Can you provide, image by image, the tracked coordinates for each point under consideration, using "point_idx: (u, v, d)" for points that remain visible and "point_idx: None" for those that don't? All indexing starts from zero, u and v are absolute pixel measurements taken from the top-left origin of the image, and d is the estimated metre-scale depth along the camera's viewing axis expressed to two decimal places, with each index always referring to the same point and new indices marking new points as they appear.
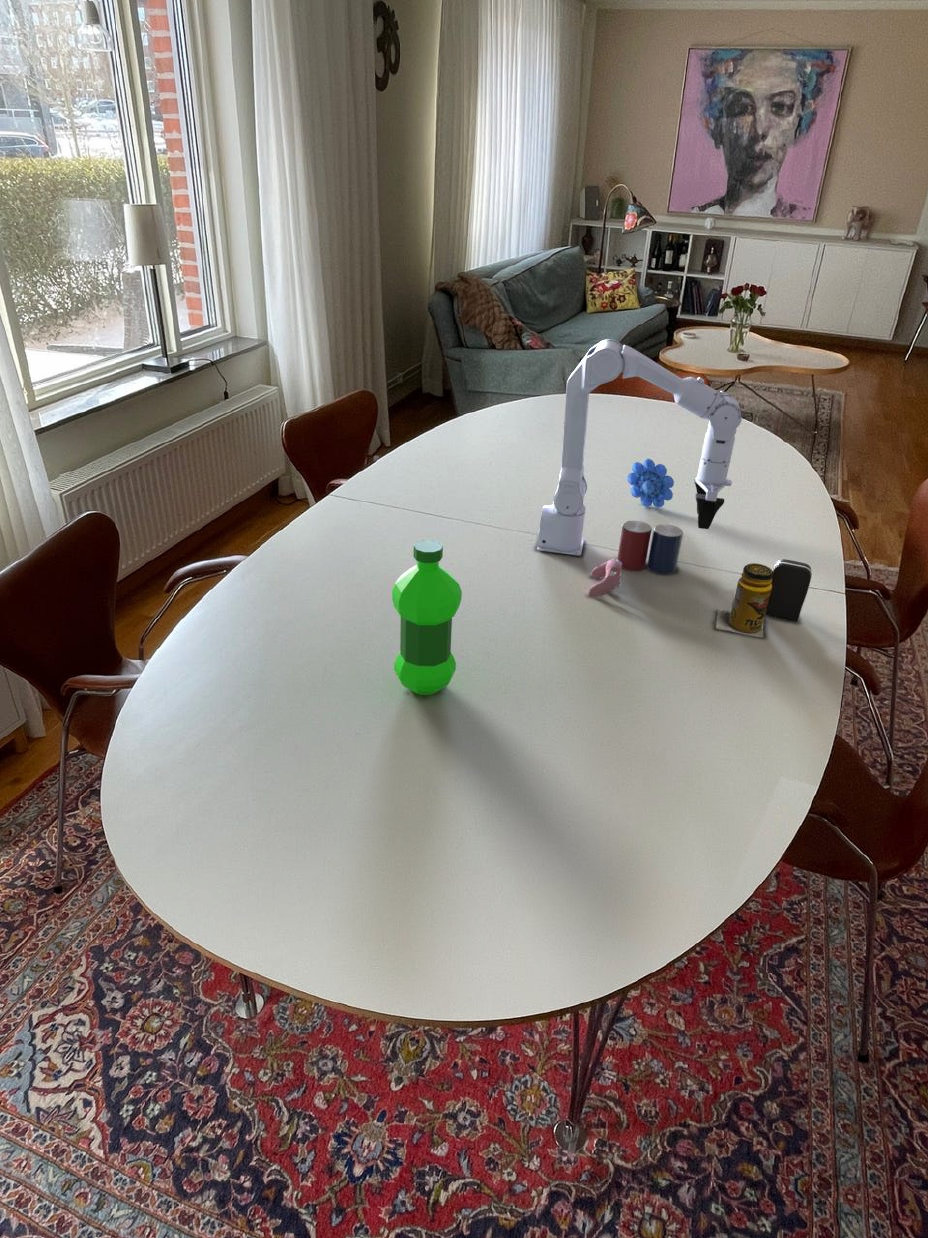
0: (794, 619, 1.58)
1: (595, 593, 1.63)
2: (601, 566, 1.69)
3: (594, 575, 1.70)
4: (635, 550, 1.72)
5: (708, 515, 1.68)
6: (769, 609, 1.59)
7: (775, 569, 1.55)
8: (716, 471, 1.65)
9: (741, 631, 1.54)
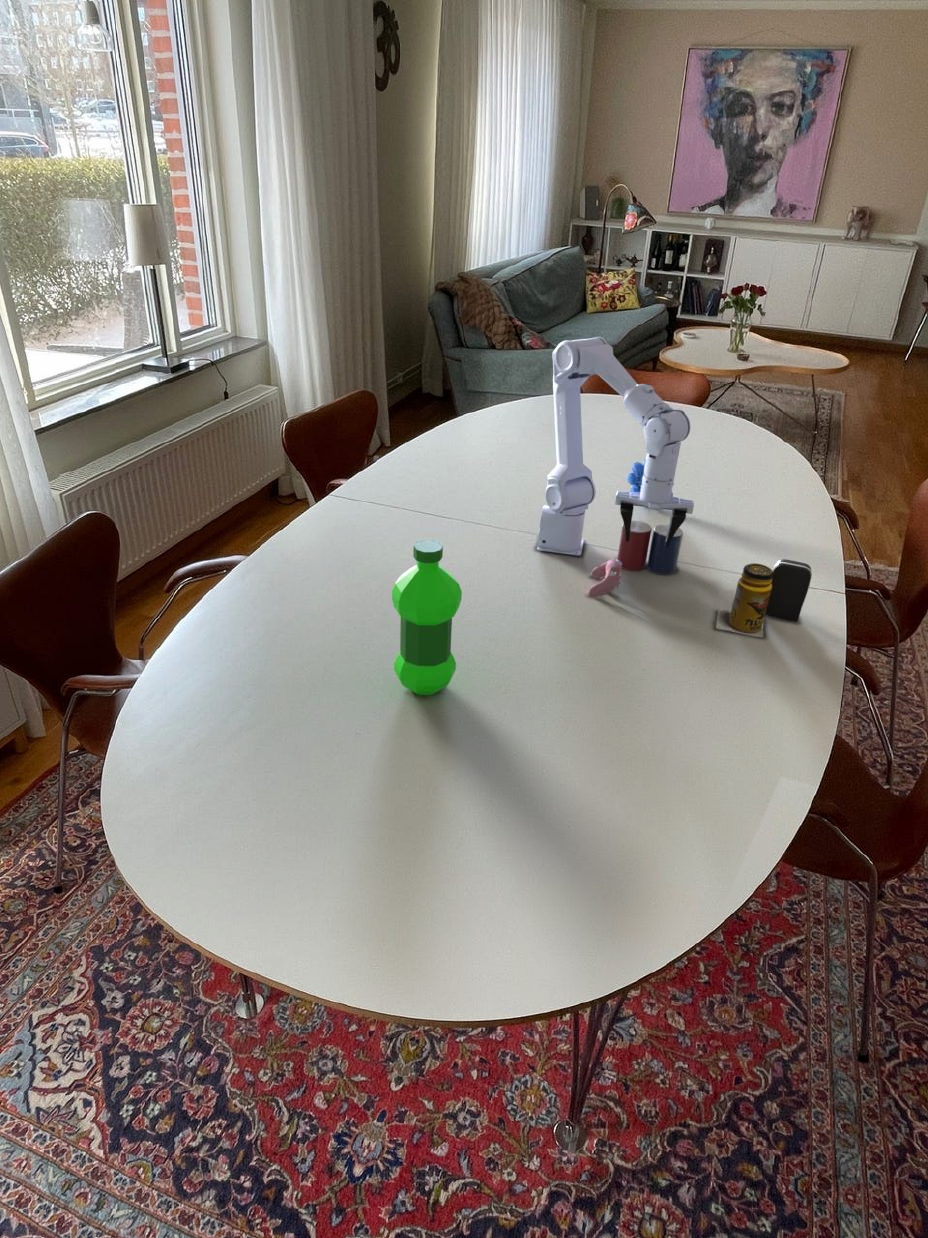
0: (794, 619, 1.58)
1: (595, 593, 1.63)
2: (601, 566, 1.69)
3: (594, 575, 1.70)
4: (635, 550, 1.72)
5: None
6: (769, 609, 1.59)
7: (775, 569, 1.55)
8: (642, 483, 1.57)
9: (741, 631, 1.54)
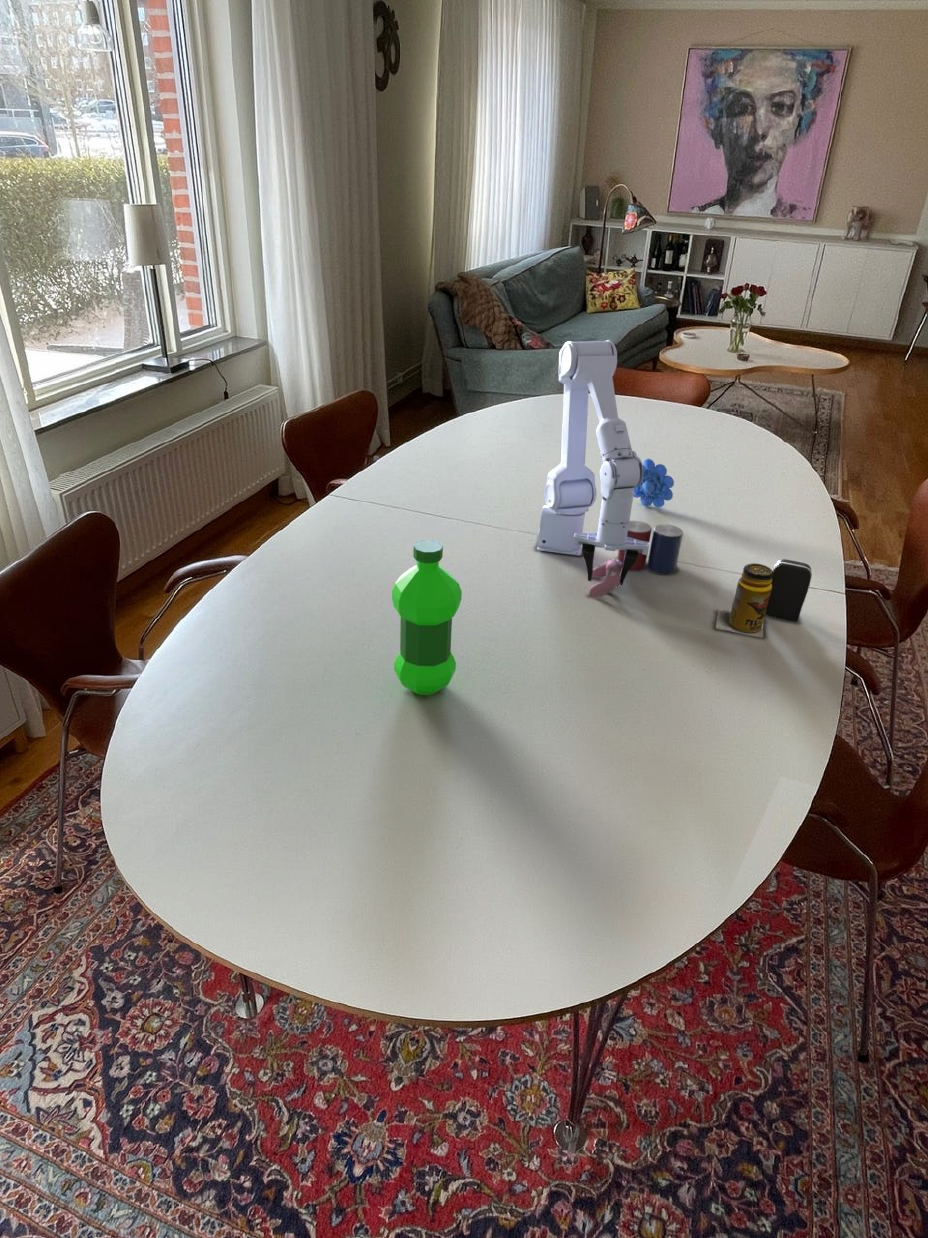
0: (794, 619, 1.58)
1: (595, 593, 1.63)
2: (601, 566, 1.69)
3: (594, 575, 1.70)
4: None
5: None
6: (769, 609, 1.59)
7: (775, 569, 1.55)
8: (598, 525, 1.61)
9: (741, 631, 1.54)
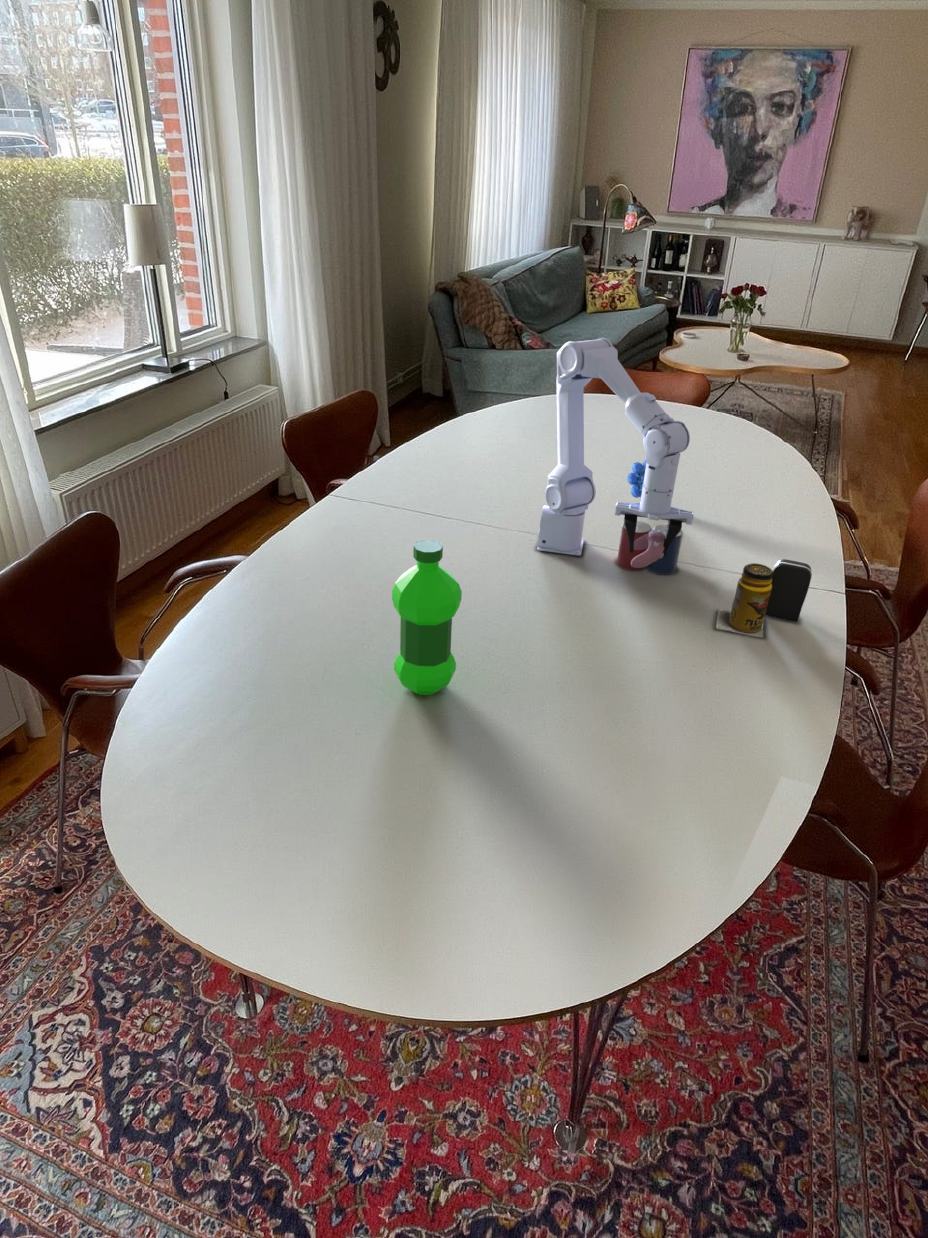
0: (794, 619, 1.58)
1: (637, 564, 1.59)
2: (642, 538, 1.65)
3: (635, 547, 1.67)
4: (635, 550, 1.72)
5: None
6: (769, 609, 1.59)
7: (775, 569, 1.55)
8: None
9: (741, 631, 1.54)
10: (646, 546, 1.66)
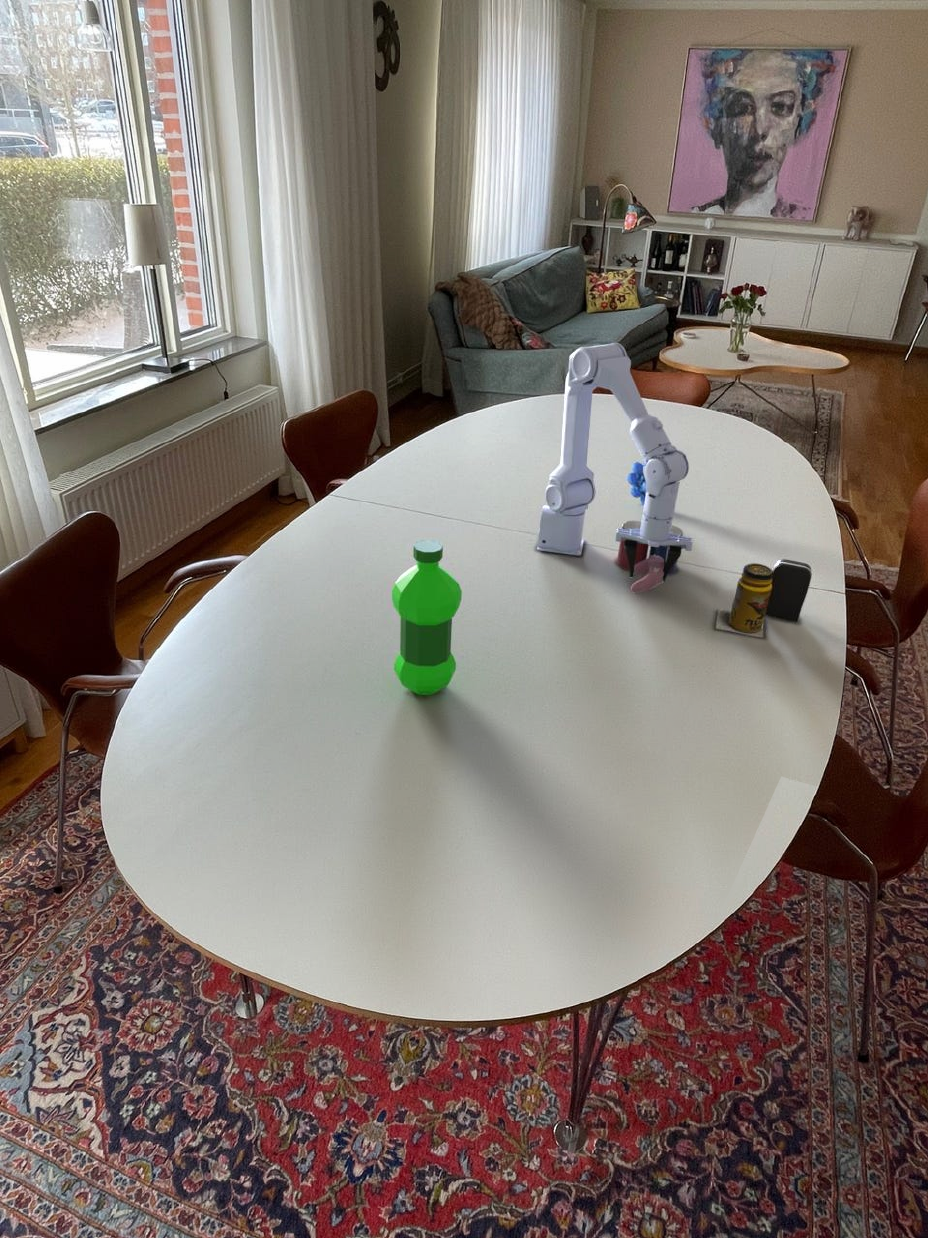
0: (794, 619, 1.58)
1: (637, 589, 1.62)
2: (642, 562, 1.68)
3: (635, 571, 1.70)
4: None
5: None
6: (769, 609, 1.59)
7: (775, 569, 1.55)
8: (641, 521, 1.60)
9: (741, 631, 1.54)
10: (646, 571, 1.69)
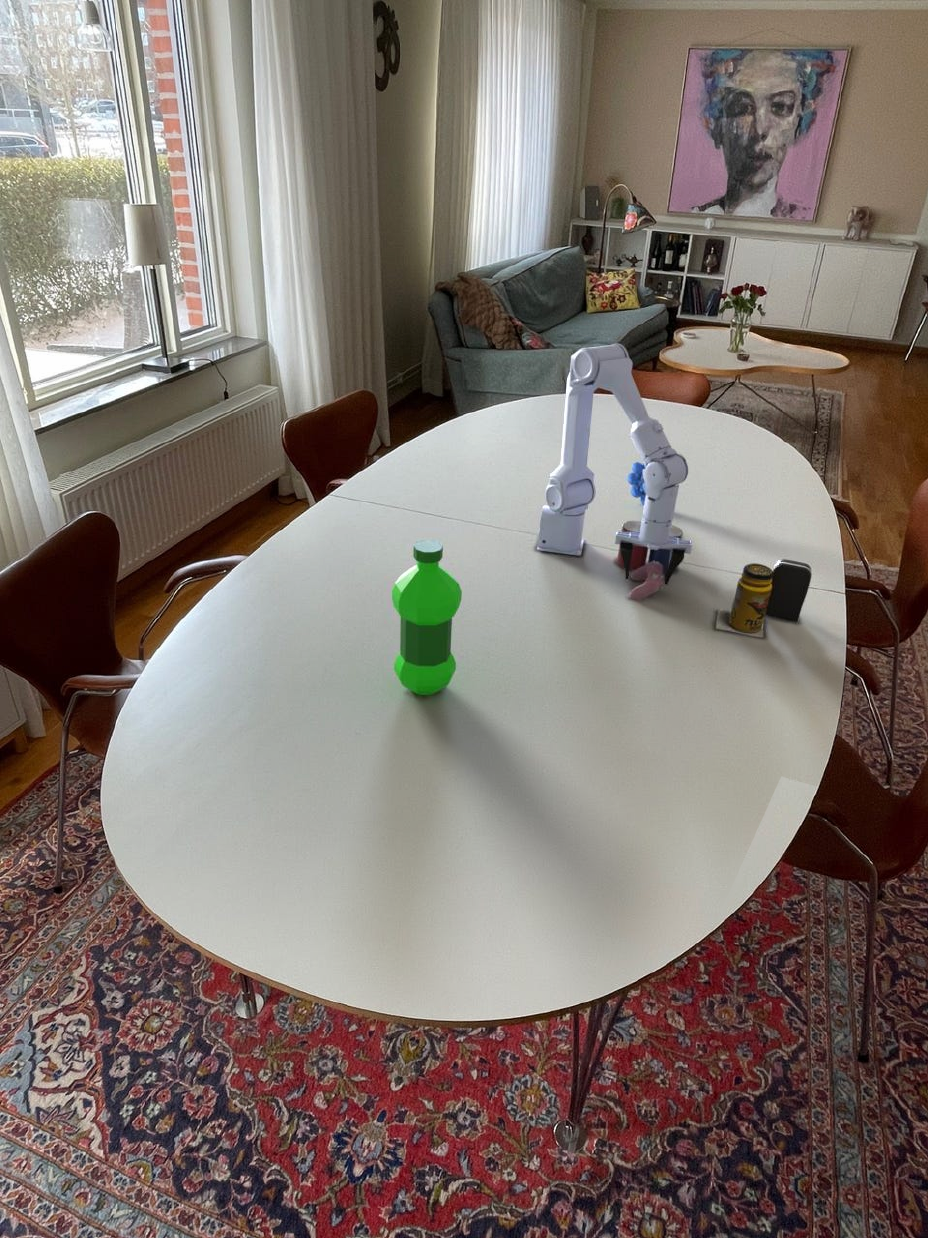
0: (794, 619, 1.58)
1: (636, 596, 1.63)
2: (641, 568, 1.69)
3: (634, 577, 1.70)
4: (635, 550, 1.72)
5: None
6: (769, 609, 1.59)
7: (775, 569, 1.55)
8: (641, 524, 1.60)
9: (741, 631, 1.54)
10: (645, 577, 1.69)
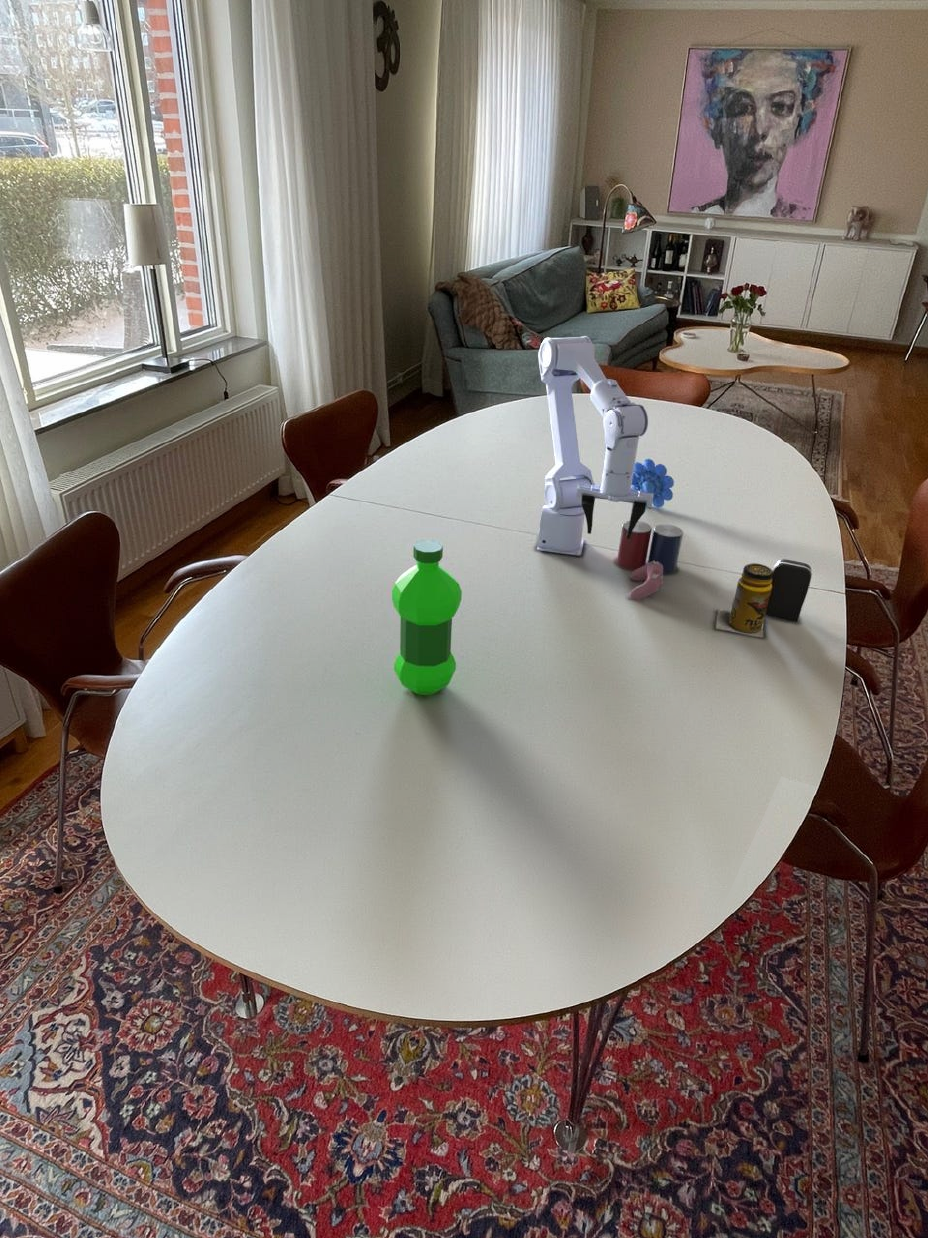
0: (794, 619, 1.58)
1: (636, 596, 1.63)
2: (641, 568, 1.69)
3: (634, 577, 1.70)
4: (635, 550, 1.72)
5: None
6: (769, 609, 1.59)
7: (775, 569, 1.55)
8: (602, 476, 1.59)
9: (741, 631, 1.54)
10: (645, 577, 1.69)
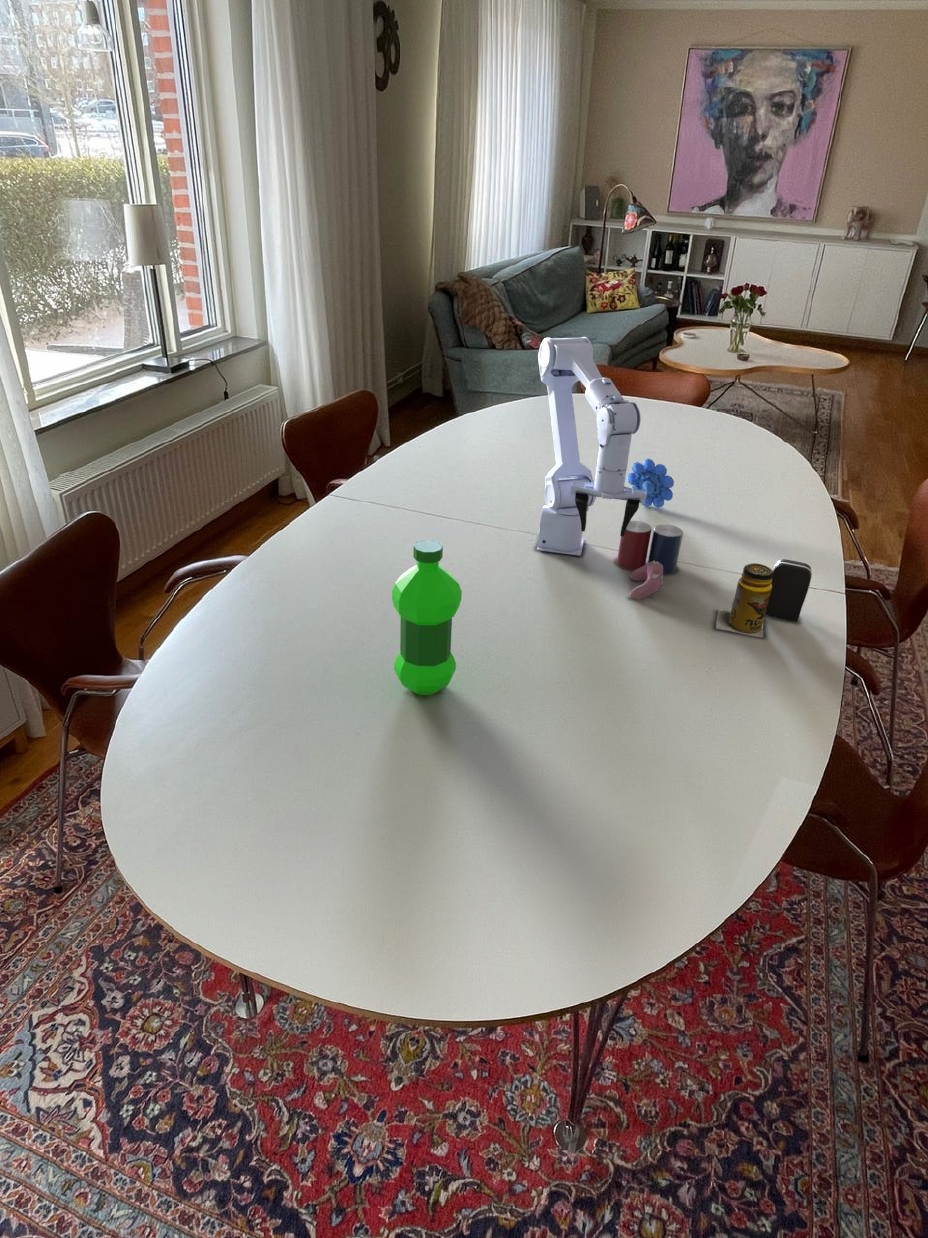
0: (794, 619, 1.58)
1: (636, 596, 1.63)
2: (641, 568, 1.69)
3: (634, 577, 1.70)
4: (635, 550, 1.72)
5: None
6: (769, 609, 1.59)
7: (775, 569, 1.55)
8: None
9: (741, 631, 1.54)
10: (645, 577, 1.69)
